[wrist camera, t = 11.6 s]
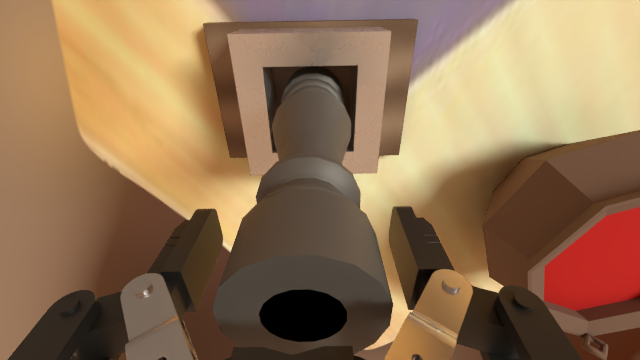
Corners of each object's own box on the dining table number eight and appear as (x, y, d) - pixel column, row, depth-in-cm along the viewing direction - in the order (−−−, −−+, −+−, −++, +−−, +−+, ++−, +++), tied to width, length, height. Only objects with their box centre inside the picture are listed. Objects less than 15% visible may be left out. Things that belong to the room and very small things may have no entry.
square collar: (241, 29, 27) (227, 34, 23) (379, 26, 27) (391, 31, 23) (259, 153, 34) (250, 175, 30) (369, 151, 34) (376, 173, 30)
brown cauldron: (486, 102, 32) (611, 178, 19) (695, 105, 33) (973, 182, 19) (436, 254, 45) (489, 367, 31) (588, 255, 45) (707, 368, 31)
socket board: (208, 22, 28) (202, 23, 27) (413, 18, 28) (418, 19, 27) (233, 152, 35) (230, 157, 34) (395, 149, 35) (398, 155, 34)
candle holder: (354, 102, 31) (434, 329, 10) (307, 134, 33) (289, 382, 11) (320, 51, 28) (326, 209, 7) (271, 89, 30) (160, 305, 9)
